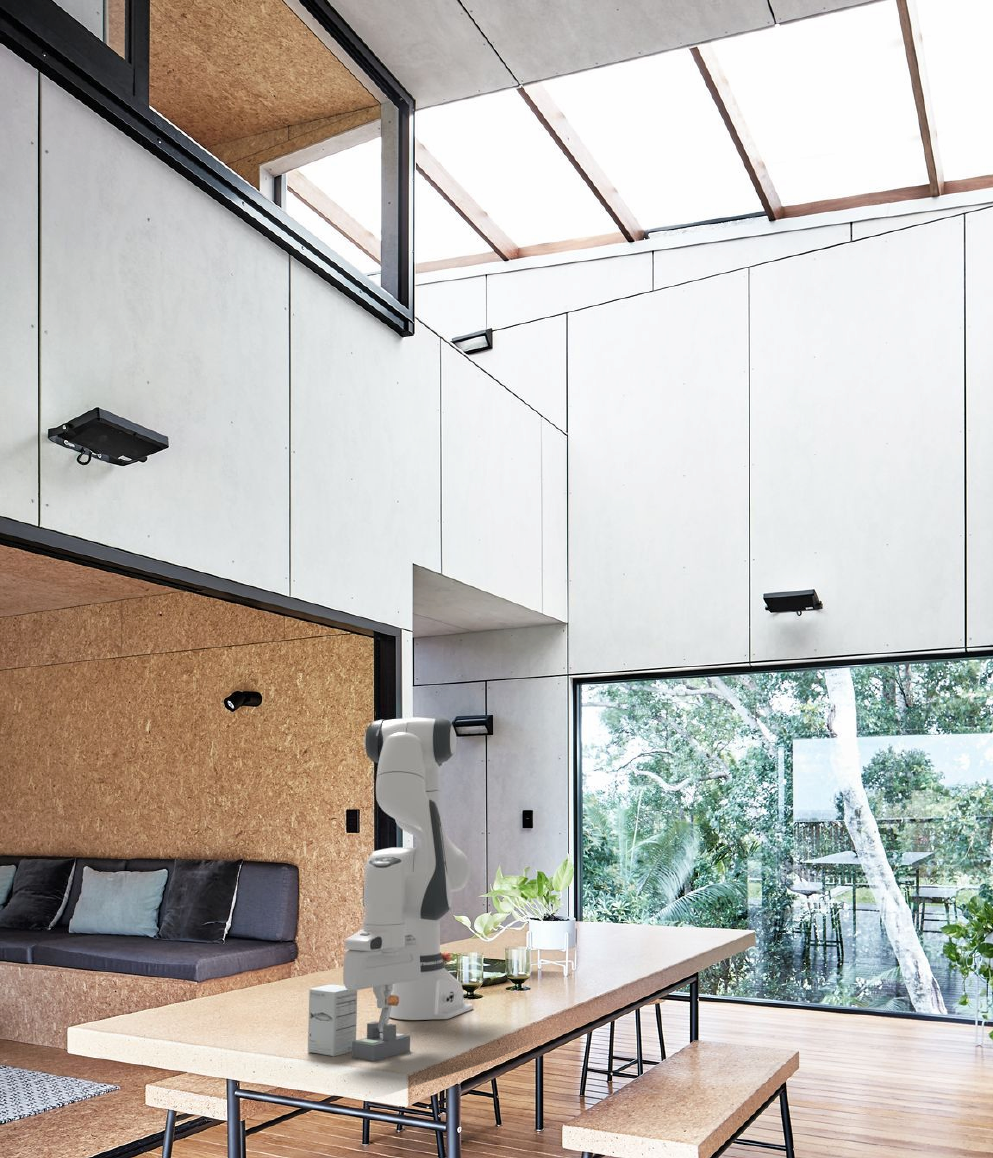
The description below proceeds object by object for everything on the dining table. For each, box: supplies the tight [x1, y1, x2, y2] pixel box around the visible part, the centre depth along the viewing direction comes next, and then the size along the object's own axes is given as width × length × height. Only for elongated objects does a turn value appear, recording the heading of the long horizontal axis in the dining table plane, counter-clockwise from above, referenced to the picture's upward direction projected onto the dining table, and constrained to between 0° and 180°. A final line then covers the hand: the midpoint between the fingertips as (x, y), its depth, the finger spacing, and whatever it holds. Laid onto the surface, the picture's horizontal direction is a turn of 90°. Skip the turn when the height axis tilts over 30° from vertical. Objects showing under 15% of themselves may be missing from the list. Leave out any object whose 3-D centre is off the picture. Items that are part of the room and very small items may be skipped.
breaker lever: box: [376, 995, 399, 1034], centre depth 235 cm, size 2×4×8 cm, turn 52°
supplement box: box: [307, 984, 358, 1057], centre depth 237 cm, size 7×7×13 cm
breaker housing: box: [351, 1021, 411, 1062], centre depth 234 cm, size 11×6×6 cm, turn 144°
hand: (382, 1007), depth 235 cm, fingers closed
